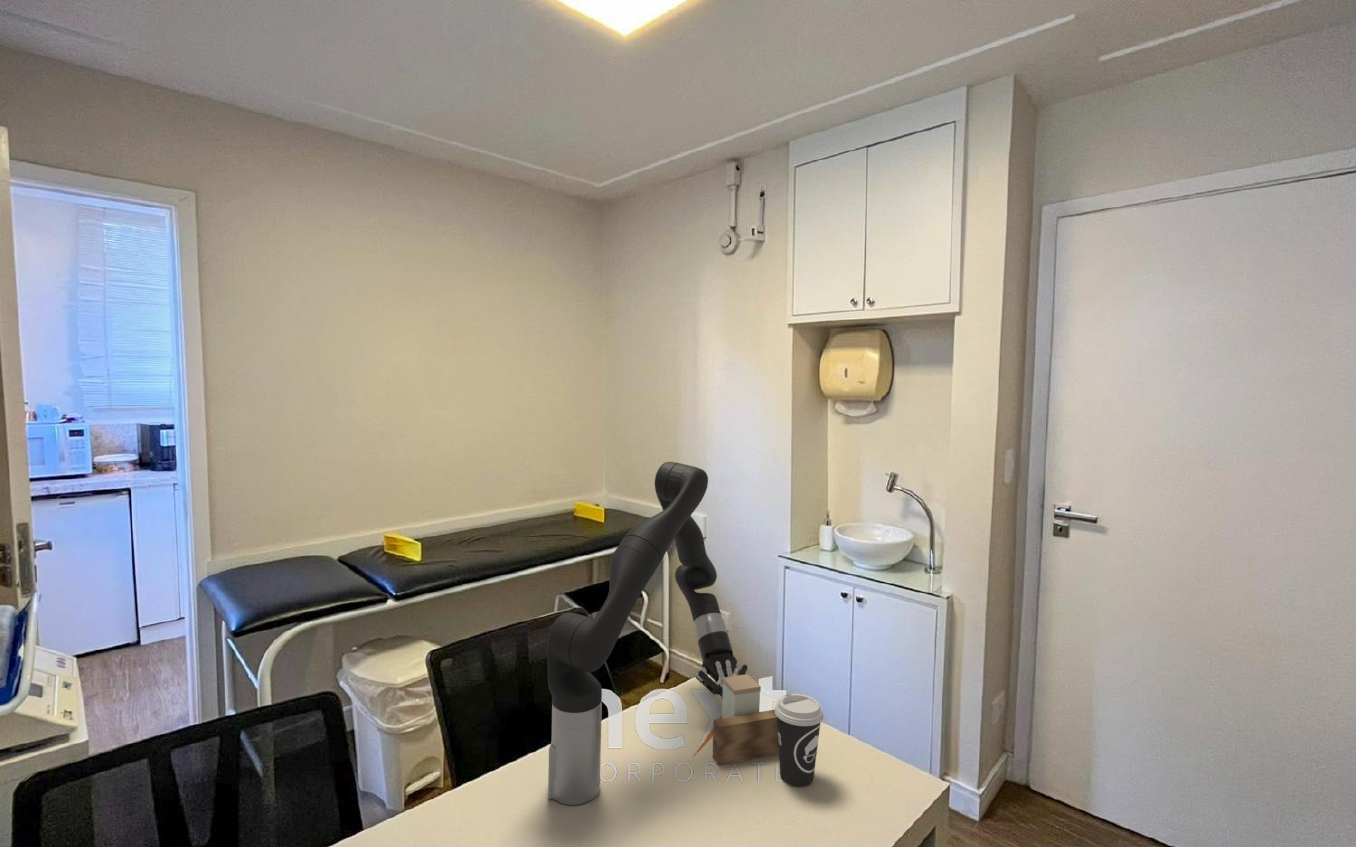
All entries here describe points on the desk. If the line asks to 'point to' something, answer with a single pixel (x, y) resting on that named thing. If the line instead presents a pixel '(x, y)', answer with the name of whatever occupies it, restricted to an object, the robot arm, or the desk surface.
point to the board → (745, 737)
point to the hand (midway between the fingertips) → (732, 710)
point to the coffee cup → (798, 737)
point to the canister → (740, 696)
